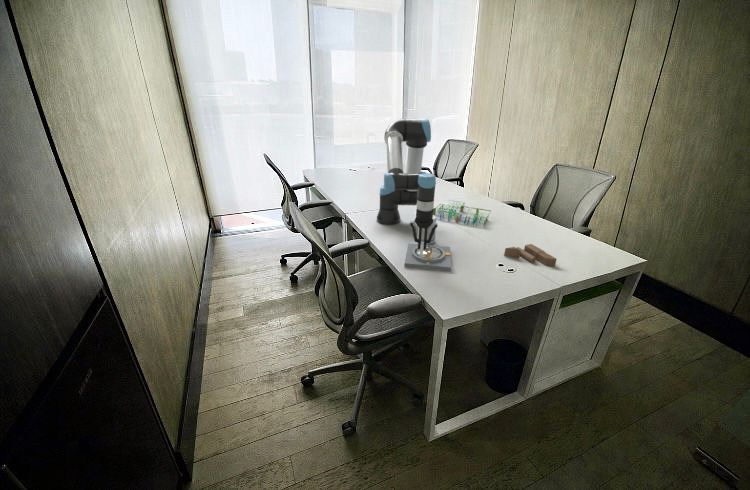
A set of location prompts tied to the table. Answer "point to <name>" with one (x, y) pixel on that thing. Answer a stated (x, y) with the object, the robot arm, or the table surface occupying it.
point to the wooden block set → (531, 254)
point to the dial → (429, 253)
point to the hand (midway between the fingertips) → (421, 255)
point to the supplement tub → (428, 232)
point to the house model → (460, 214)
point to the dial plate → (434, 264)
